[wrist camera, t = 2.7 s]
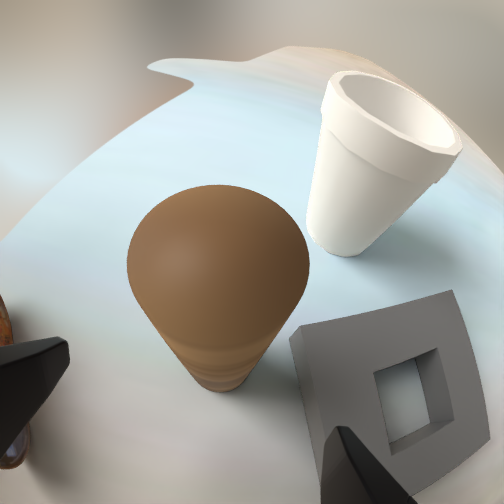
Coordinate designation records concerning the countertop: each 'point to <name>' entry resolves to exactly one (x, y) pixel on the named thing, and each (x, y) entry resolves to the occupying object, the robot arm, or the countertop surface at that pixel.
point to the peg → (218, 278)
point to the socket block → (366, 394)
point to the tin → (19, 449)
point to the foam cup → (373, 159)
